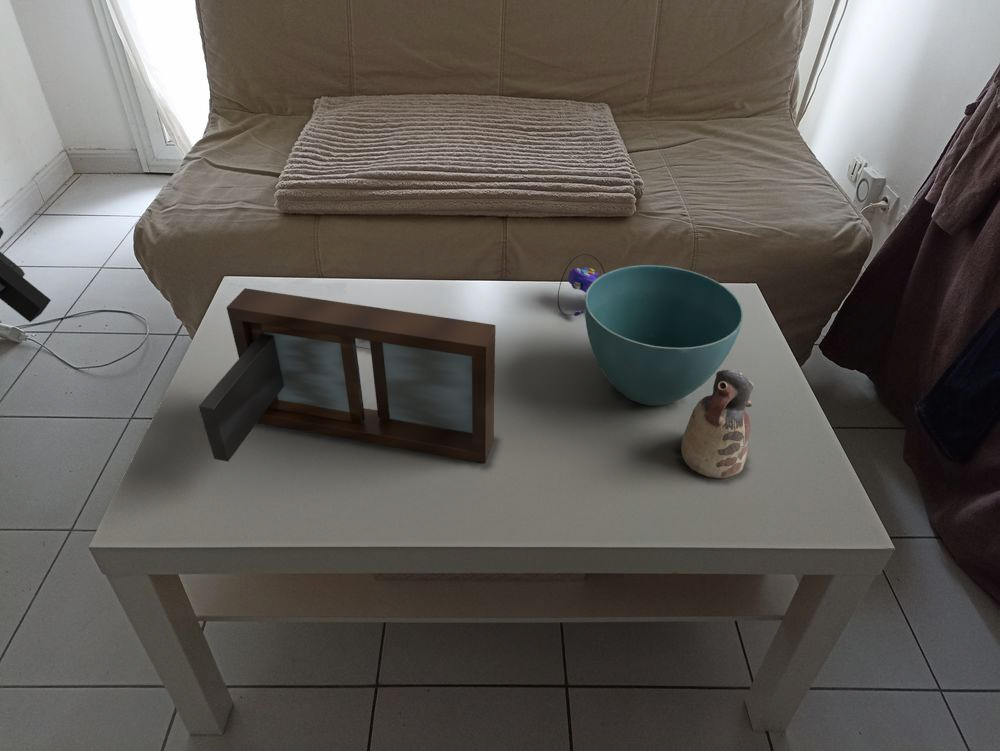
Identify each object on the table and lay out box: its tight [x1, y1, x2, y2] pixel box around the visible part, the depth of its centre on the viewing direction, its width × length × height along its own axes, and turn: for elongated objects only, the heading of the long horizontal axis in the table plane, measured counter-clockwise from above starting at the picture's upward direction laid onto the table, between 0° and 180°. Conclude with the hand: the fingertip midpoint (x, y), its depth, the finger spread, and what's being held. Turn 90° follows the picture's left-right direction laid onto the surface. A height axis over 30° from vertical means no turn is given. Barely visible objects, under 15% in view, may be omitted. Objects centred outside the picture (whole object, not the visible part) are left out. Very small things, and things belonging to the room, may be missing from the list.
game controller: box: [557, 253, 606, 317], centre depth 108 cm, size 10×8×10 cm
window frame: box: [226, 287, 497, 464], centre depth 82 cm, size 28×4×16 cm, turn 77°
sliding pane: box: [198, 322, 365, 462], centre depth 78 cm, size 12×13×12 cm
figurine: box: [680, 369, 755, 479], centre depth 81 cm, size 7×7×12 cm
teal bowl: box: [584, 264, 744, 407], centre depth 91 cm, size 18×18×12 cm
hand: (40, 311), depth 72 cm, fingers closed
